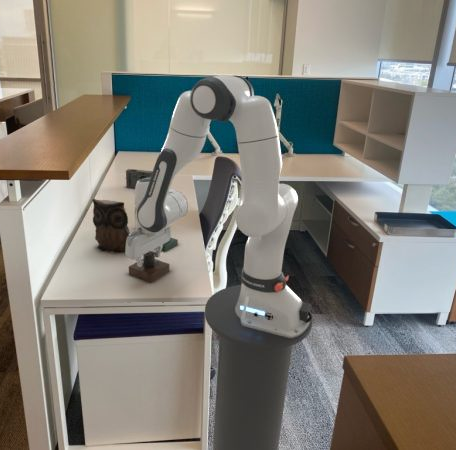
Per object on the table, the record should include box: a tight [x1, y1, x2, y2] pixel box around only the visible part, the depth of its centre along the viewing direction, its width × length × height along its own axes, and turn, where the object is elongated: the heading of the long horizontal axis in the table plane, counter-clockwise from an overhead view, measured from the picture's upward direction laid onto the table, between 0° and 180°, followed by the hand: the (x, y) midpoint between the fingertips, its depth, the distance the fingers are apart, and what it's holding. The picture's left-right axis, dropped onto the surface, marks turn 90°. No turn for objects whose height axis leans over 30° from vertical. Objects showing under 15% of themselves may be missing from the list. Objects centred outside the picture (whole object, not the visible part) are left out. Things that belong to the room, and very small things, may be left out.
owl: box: [92, 198, 131, 254], centre depth 169 cm, size 13×13×20 cm
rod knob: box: [142, 250, 156, 268], centre depth 153 cm, size 4×4×5 cm
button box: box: [161, 237, 179, 252], centre depth 177 cm, size 10×8×4 cm
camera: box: [125, 168, 153, 189], centre depth 243 cm, size 16×4×10 cm, turn 77°
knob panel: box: [128, 258, 170, 283], centre depth 155 cm, size 10×10×3 cm
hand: (149, 261), depth 154 cm, fingers open, 8 cm apart
